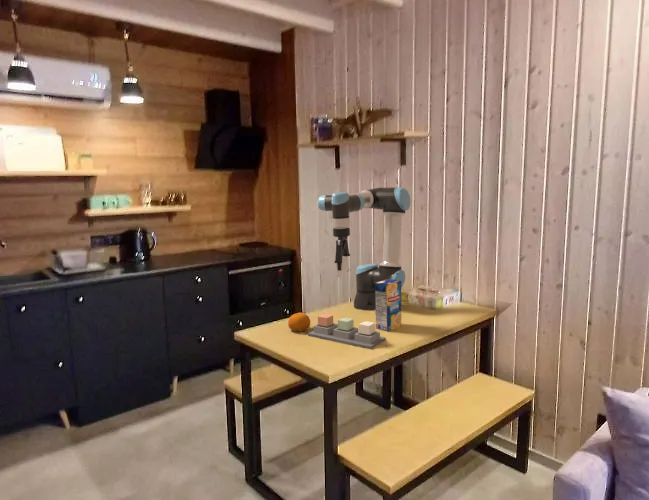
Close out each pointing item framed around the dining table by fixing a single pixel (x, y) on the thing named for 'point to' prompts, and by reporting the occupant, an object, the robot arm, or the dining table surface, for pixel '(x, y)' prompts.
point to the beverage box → (388, 304)
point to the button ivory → (366, 328)
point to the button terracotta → (325, 320)
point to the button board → (347, 336)
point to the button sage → (345, 324)
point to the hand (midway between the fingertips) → (343, 273)
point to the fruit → (299, 322)
